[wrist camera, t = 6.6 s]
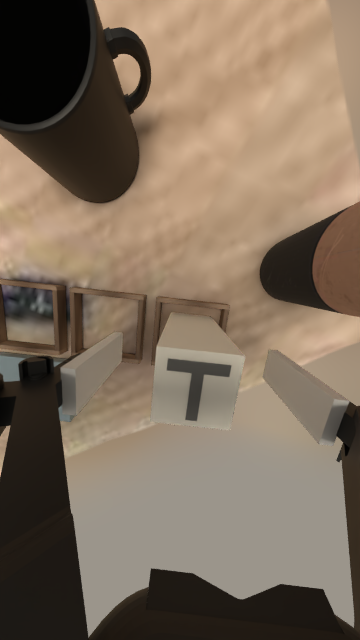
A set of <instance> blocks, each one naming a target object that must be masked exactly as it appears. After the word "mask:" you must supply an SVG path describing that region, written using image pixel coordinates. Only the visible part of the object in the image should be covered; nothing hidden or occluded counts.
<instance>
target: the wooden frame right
mask: <svg viewBox="0 0 360 640" xmlns="http://www.w3.org/2000/svg"><path fill="white" fill-rule="evenodd" d="M162 302H164V303H172V304H181V305H190V306H199V307H208V308H217V309H222V310H221V316H220V322H219V327H220V328H221V329H222V330H223V331H224V332H225V331H226V325H227V320H228V314H229V308H230V305H227V304H221V303H212V302H203V301H194V300H186V299H177V298H168V297H159V296H158V297H157V298H156V311H155V323H154V335H153V348H152V360H151V365H155V359H156V347H157V344H158V342H159V330H160V319H161V308H162Z"/></svg>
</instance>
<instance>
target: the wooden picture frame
mask: <svg viewBox="0 0 360 640" xmlns="http://www.w3.org/2000/svg"><path fill="white" fill-rule="evenodd" d="M1 284H3V285H12V286H21V287H30V288H39V289H48V290H52V293H53V314H54V334H55V346H54V345H45V344H36V343H27V342H18V341H9V340H7V333H6V324H5V315H4V306H3V297H2V288H1ZM0 349H8V350H17V351H27V352H36V353H45V354H54V355H61V354H62V353H64V352H66V351H68V348H67V317H66V286H61V285H52V284H43V283H34V282H26V281H17V280H8V279H0Z"/></svg>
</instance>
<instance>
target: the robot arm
mask: <svg viewBox="0 0 360 640" xmlns="http://www.w3.org/2000/svg"><path fill="white" fill-rule="evenodd" d="M122 344H123V333H121V332H113V333H112V334H110V335H109V336H107V337H106V338H104V339H103V340H101V341H100V342H98V343H97V344H95V345H94V346H92V347H91V348H89V349H88V350H86V351H85V352H83V353H78V354H75V355H73V356H71V357H69V358H68V359H67V360H65V361H63V362H62V363H60V364H58V365H57V366H55V367H54V360H53V358H52V357H51V356H35V357H30V358H27V359H24V360H22V361H20V362H19V364H18V367H19V378H20V381H9V382H4V379H3V375H2V374H1V373H0V436H1V434H2V432H3V431H4V429H5V428H6V426H9V425H11V426H10V432H9V437H8V442H7V447H6V452H5V457H4V462H3V467H2V472H1V477H0V640H360V406H356V405H354V404H353V403H351V402H350V401H349V400H347V399H346V398H345V397H343V396H342V395H340V394H339V393H337V392H336V391H335V390H333V389H332V388H330V387H329V386H327V385H326V384H325V383H323V382H322V381H320V380H319V379H317V378H316V377H315V376H313V375H312V374H310V373H309V372H308V371H306V370H305V369H303V368H302V367H300V366H299V365H298V364H296V363H295V362H293V361H292V360H290V359H289V358H288V357H286V356H285V355H283V354H282V353H281V352H279V351H278V350H270V349H269V352H268V356H267V360H266V364H265V369H264V373H263V379H264V380H265V381H266V382H267V383H268V384H269V386H270V387H271V388H272V389H273V390H274V392H275V393H276V394H277V395H278V396H279V398H280V399H281V400H282V401H283V402H284V403H285V404H286V406H287V407H288V408H289V409H290V411H291V412H292V413H293V414H294V415H295V417H296V418H297V419H298V420H299V421H300V422H301V424H302V425H303V426H304V427H305V428H306V430H307V431H308V432H309V433H310V434H311V435H312V437H313V438H314V439H315V440H316V441H317V443H318V444H321V445H330V446H333V445H334V442H335V439H336V437H338V438H340V439H341V441H342V442H343V445H342V447H341V450H340V453H339V455H338V458H337V461H338V462H340V460H342V469H343V480H344V494H345V506H346V518H347V530H348V542H349V555H350V568H351V579H352V592H353V604H354V628H353V627H352V626H350V625H349V624H347V623H346V622H345V621H343V620H342V619H340V618H339V617H337V616H336V615H335V614H334V612H333V610H332V608H331V606H330V604H329V601H328V599H327V597H326V595H325V592H324V590H323V589H317V588H308V587H299V586H292V585H284V584H280V585H278V586H275V587H273V588H270V589H268V590H266V591H263V592H261V593H258V594H256V595H253V596H251V597H248V598H246V599H243V600H242V599H237V598H235V597H233V596H232V595H229V594H228V593H226V592H224V591H223V590H221V589H219V588H217V587H216V586H214V585H212V584H210V583H209V582H207V581H205V580H203V579H202V578H200V577H198V576H196V575H195V574H193V573H184V572H176V571H168V570H160V569H151V573H150V581H149V587H147V588H145V589H142V590H140V591H137V592H136V593H134V594H132V595H130V596H129V597H127V598H126V599H124V600H123V601H122V602H121V603H119V604H118V605H117V606H116V607H115V608H114V609H113V610H112V611H111V612H110V613H109V614H108V615H107V616H106V617H105V618H104V619H103V620H102V621H101V623H100V624H99V625H98V627H97V628H96V629H95V630H94V632H93V633H92V634H91V635H90V637H89V638H88V631H87V623H86V615H85V607H84V599H83V592H82V583H81V575H80V569H79V568H80V567H79V559H78V552H77V544H76V536H75V528H74V521H73V516H72V514H71V509H70V501H69V493H68V485H67V477H66V468H65V459H64V451H63V443H62V434H61V426H60V418H59V409H58V408H59V407H60V406H61V405H62V414H65V415H74V416H77V414H78V413H79V412H80V411H81V410H82V408H83V407H84V406H85V405H86V404H87V402H88V401H89V400H90V399H91V398H92V396H93V395H94V394H95V393H96V392H97V390H98V389H99V388H100V387H101V386H102V384H103V383H104V382H105V381H106V380H107V378H108V377H109V376H110V375H111V373H112V372H113V371H114V370H115V369H116V367H117V366H118V365H119V364H120V363H121V361H122ZM148 588H149V589H148ZM147 597H148V598H147Z"/></svg>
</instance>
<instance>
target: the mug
mask: <svg viewBox="0 0 360 640" xmlns="http://www.w3.org/2000/svg"><path fill="white" fill-rule="evenodd" d="M119 54H128V55H131V56H132V57H134V58H135V59H136V61H137V62H138V64H139V66H140V72H141V77H140V81H139V84H138V86H137V88H136V89H135V91H134V92H133V93H132V94H130V95H129V96H128V94H126V95H124V94H123V91H122V88H121V85H120V81H119V78H118V75H117V72H116V69H115V65H114V62H113V59H115V58H117V57H118V55H119ZM150 84H151V67H150V61H149V57H148V54H147V50H146V48H145V45H144V44H143V42H142V41H141V39H140V38H139V37H138V36H137V35H136V34H135V33H134V32H132V31H131V30H129V29H126V28H122V27H121V28H114V29H110V28H109V27H108V28H106V29H104V30H103V27H102V23H101V20H100V17H99V14H98V11H97V7H96V4H95V1H94V0H0V134H1V135H2V136H3V137H4V138H6V139H7V140H8V141H9V142H11V143H12V144H13V145H14V146H15V147H17V148H18V149H19V150H20V151H21V152H23V153H24V154H25V155H26V156H27V157H29V158H30V159H31V160H32V161H34V162H35V163H36V164H37V165H38V166H40V167H41V168H42V169H43V170H44V171H46V172H47V173H48V174H49V175H50V176H52V177H53V178H54V179H55V180H57V181H58V182H59V183H60V184H61V185H63V186H64V187H65V188H66V189H67V190H69V191H70V192H71V193H72V194H74V195H75V196H77V197H79V198H81V199H84V200H86V201H91V202H105V201H109V200H112V199H114V198H116V197H118V196H119V195H121V194H122V193H123V192H124V191H125V190H126V189H127V188H128V186H129V185H130V183H131V182H132V180H133V178H134V175H135V173H136V169H137V165H138V156H139V150H138V141H137V137H136V133H135V130H134V126H133V123H132V120H131V117H130V114H132V113H134V110H135V109H137V108H138V107H139V106H140V105H141V104H142V103H143V101H144V100H145V98H146V96H147V94H148V91H149V88H150Z"/></svg>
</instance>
